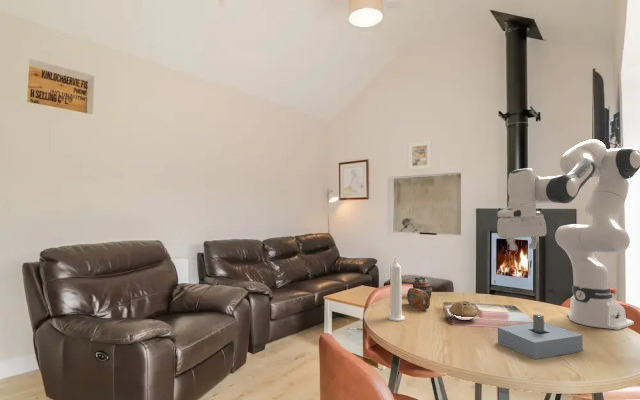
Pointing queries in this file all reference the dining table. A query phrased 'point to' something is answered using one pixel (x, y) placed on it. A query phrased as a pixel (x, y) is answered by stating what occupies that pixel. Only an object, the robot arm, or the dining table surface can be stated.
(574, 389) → the dining table surface
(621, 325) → the robot arm
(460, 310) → the oil lamp
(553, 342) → the hole block
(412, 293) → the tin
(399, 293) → the candle
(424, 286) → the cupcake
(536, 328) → the peg
